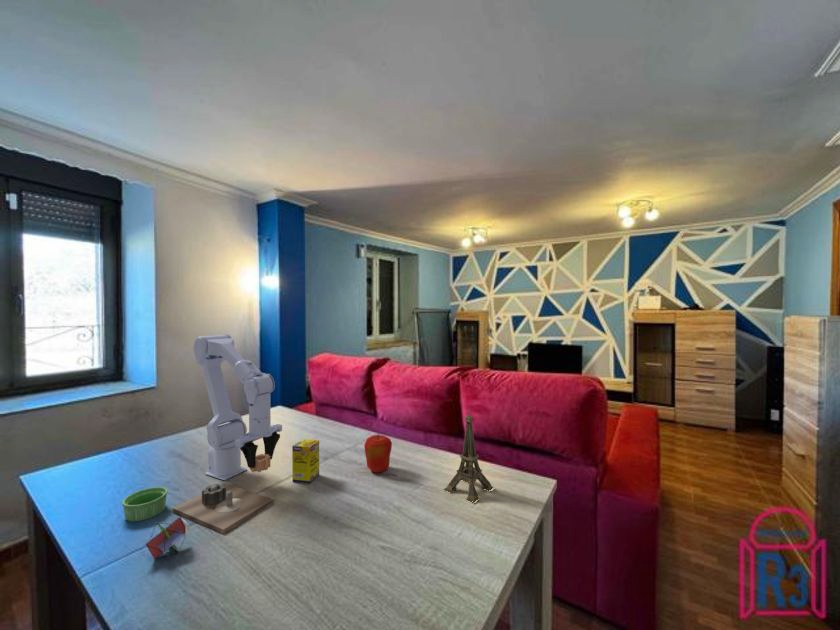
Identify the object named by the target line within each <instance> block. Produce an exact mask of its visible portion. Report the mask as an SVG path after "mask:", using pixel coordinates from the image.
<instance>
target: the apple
mask: <svg viewBox="0 0 840 630" xmlns="http://www.w3.org/2000/svg"><path fill="white" fill-rule="evenodd" d="M363 445H364V454H365V459H366V461H365V462H366V466H367V468H368V469H369V470H370V471H371V472H373V473H376V474H377V473H380V474H381V473H384V472H385V471H387V470H388V468H389V467H390V463H391V462H390V458H391V457H390V456H391V453H392V447H393V446H392V445H393V442H392V441H391V439H390V438H389V437H387V436H385V435H382V434H375V435H371V436H369V437H368V438H366V441H365V442H364V444H363Z"/></svg>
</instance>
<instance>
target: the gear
mask: <svg viewBox="0 0 840 630" xmlns="http://www.w3.org/2000/svg"><path fill="white" fill-rule="evenodd" d="M269 468H271V460H270V456H269V454H266V455H265V453H259V454H256V459H255V468H249V470H250V472H252V473H254V472H255V473H256V472H257V473H261V472H263V471H267V470H269Z"/></svg>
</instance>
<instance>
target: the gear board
mask: <svg viewBox="0 0 840 630" xmlns="http://www.w3.org/2000/svg"><path fill="white" fill-rule="evenodd" d="M273 504H274V499H273V498H271V497H268V496H265V495H262V494H259V493H255V492H253V491H249V490H247V489H244V488H241V487H237V486H234V485H232V484H228V483H226V482H224V483H221V484H220V483H215V484H212V485H208V486H206V487H205V488H203V489H202V490H201V494H198V495H197V496H195V497H192V498H191V499H188V500H187V501H186V500H185V501H184V502H182V503H180V504H178V505H176V506H174V507H172V508H171V511H172V513H174V514H177V515H179V516H180V517H184V518H186V519H188V520H190V521H192V522H194V523H197V524H199V525H201V526H205V527H207V528H209V529H211V530H213V531H216V532H217V533H221V534H222V535H224V534H225V533H227V532H230V531H231V530H232V529H234V528H236V527H237V526H239V525H240V524H242V523H243V522H245V521H247V520H248V519H250V518H251V517H253V516H255V515H257V514H258V513H260V512H262V511H263V510H264V509H266V508H268V507H269V506H271V505H273Z"/></svg>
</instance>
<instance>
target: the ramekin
mask: <svg viewBox="0 0 840 630" xmlns="http://www.w3.org/2000/svg"><path fill="white" fill-rule="evenodd" d="M168 492H169V491H168V489H167V487H163V486H154V487H153V486H152V487H148V488H144V489H141V490H138V491H137V490H136V492H132V493H131V494H129V495H127V496H126V497H124V499H123V500H122V506H123V511H124V518H125V520H126V521H128V522H140V521H145V519H146V520H149V519H151V518H154V517H156V516H158V515H160V514H161V513H162V512H163V511H164V510H165V509H166V505H167V504H166V503H167V495H168Z"/></svg>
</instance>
